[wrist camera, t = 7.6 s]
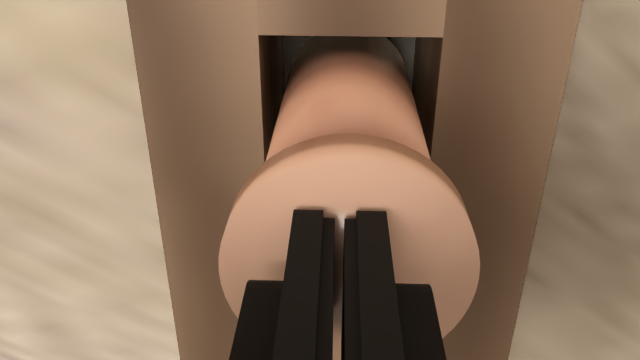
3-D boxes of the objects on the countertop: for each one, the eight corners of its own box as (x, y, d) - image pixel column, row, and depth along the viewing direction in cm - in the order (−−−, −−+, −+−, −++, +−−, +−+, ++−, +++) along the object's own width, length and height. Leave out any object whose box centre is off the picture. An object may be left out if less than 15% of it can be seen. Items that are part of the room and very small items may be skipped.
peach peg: (425, 12, 19) (498, 161, 10) (413, 148, 21) (463, 373, 12) (274, 11, 19) (207, 155, 10) (279, 146, 21) (227, 365, 12)
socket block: (525, -52, 20) (587, -20, 15) (463, 340, 29) (489, 448, 24) (179, -55, 21) (122, -24, 16) (219, 333, 29) (192, 436, 24)
